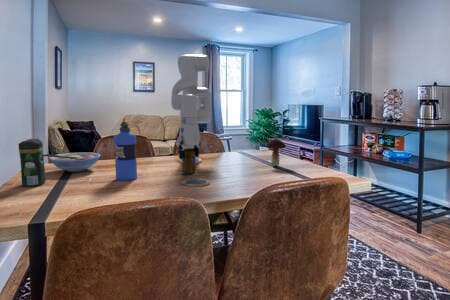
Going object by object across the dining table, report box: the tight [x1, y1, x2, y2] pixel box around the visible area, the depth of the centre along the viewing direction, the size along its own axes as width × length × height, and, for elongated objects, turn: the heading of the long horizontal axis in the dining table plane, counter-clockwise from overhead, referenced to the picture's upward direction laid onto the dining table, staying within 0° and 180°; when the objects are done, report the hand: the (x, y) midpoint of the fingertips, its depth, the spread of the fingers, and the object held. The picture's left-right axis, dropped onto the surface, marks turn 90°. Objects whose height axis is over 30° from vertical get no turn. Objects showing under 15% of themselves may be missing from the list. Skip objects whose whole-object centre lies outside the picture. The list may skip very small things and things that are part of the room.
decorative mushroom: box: [265, 138, 287, 167], centre depth 173 cm, size 11×11×15 cm
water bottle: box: [113, 121, 138, 182], centre depth 143 cm, size 9×9×25 cm
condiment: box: [179, 148, 200, 177], centre depth 154 cm, size 7×8×12 cm
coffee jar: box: [18, 138, 47, 188], centre depth 132 cm, size 10×8×19 cm
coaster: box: [181, 177, 211, 188], centre depth 137 cm, size 12×12×1 cm
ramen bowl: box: [43, 152, 101, 173], centre depth 159 cm, size 25×23×8 cm
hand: (189, 157), depth 153 cm, fingers open, 9 cm apart
